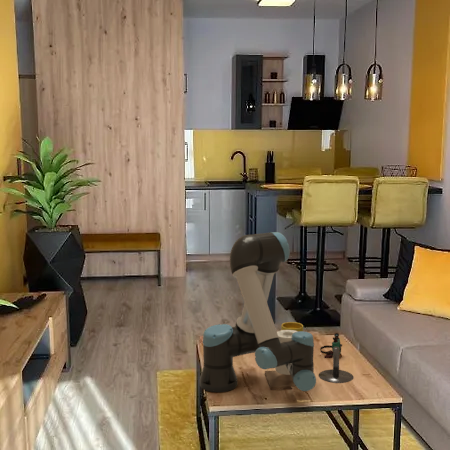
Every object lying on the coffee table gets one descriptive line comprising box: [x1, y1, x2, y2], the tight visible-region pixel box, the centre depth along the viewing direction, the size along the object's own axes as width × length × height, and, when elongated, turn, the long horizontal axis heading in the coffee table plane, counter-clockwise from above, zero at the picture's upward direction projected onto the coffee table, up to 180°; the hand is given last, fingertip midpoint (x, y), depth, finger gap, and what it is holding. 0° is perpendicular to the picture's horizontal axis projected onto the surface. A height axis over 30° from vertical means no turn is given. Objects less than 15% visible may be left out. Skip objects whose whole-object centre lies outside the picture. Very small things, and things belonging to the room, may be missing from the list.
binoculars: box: [319, 332, 343, 360], centre depth 261 cm, size 9×11×10 cm
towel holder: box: [318, 347, 354, 384], centre depth 238 cm, size 14×14×13 cm
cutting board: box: [264, 370, 297, 391], centre depth 237 cm, size 16×16×1 cm
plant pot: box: [280, 321, 304, 332], centre depth 278 cm, size 10×10×10 cm
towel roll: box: [274, 329, 298, 375], centre depth 235 cm, size 10×10×15 cm
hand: (286, 345), depth 239 cm, fingers closed on towel roll, 10 cm apart
